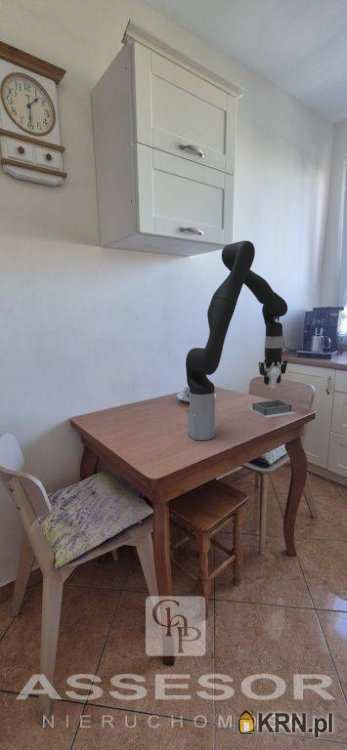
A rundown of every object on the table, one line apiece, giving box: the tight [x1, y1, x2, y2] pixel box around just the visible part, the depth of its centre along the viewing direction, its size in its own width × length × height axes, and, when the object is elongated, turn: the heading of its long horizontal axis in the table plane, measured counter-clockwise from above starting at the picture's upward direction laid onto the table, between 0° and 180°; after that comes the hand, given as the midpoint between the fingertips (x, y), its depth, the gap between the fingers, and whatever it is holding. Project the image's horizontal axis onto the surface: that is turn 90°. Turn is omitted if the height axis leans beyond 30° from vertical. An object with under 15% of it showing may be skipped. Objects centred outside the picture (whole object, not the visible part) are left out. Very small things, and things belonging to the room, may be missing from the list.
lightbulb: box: [266, 366, 280, 390], centre depth 143 cm, size 6×6×11 cm
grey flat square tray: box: [248, 399, 297, 419], centre depth 146 cm, size 15×15×3 cm
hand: (272, 383), depth 144 cm, fingers closed on lightbulb, 5 cm apart
